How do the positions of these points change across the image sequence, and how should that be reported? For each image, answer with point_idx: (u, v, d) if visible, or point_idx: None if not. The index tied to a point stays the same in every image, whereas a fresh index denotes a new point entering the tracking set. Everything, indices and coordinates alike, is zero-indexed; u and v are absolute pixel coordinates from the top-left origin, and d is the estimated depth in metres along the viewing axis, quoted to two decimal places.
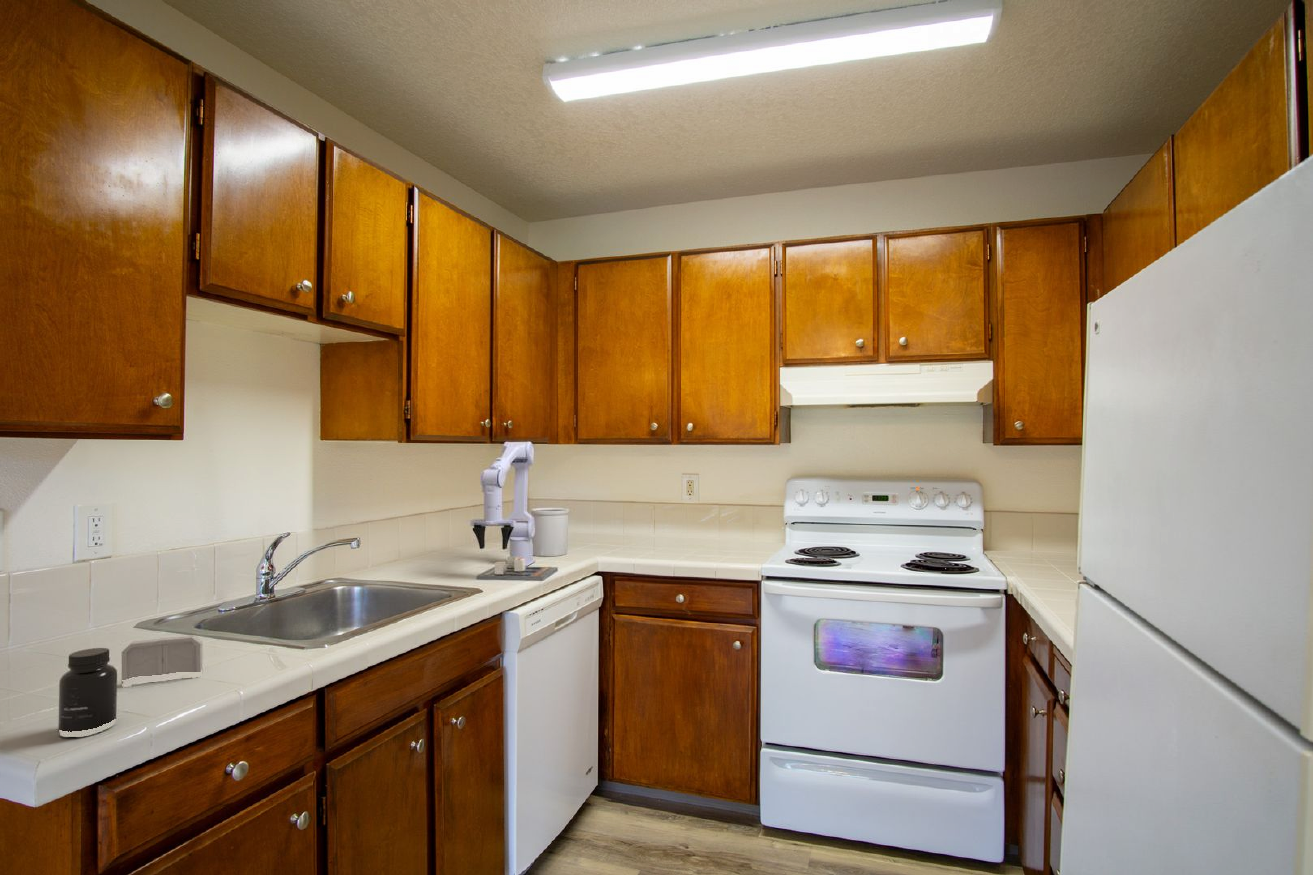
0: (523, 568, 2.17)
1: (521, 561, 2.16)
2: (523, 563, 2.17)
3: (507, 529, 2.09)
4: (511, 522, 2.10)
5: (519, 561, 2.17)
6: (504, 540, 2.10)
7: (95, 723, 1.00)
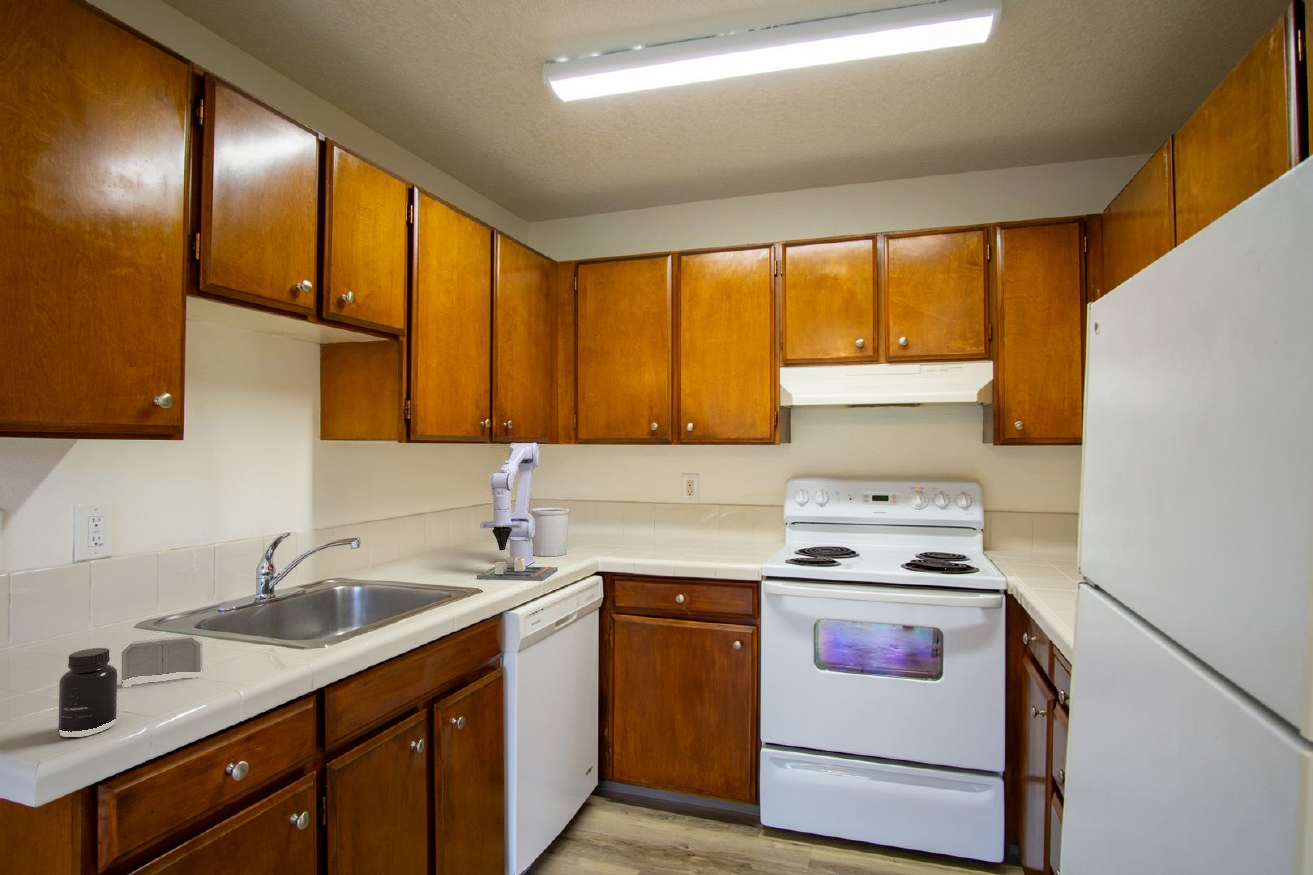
0: (523, 568, 2.17)
1: (521, 561, 2.16)
2: (523, 563, 2.17)
3: (505, 531, 2.16)
4: (520, 524, 2.17)
5: (519, 561, 2.17)
6: (503, 541, 2.17)
7: (95, 723, 1.00)
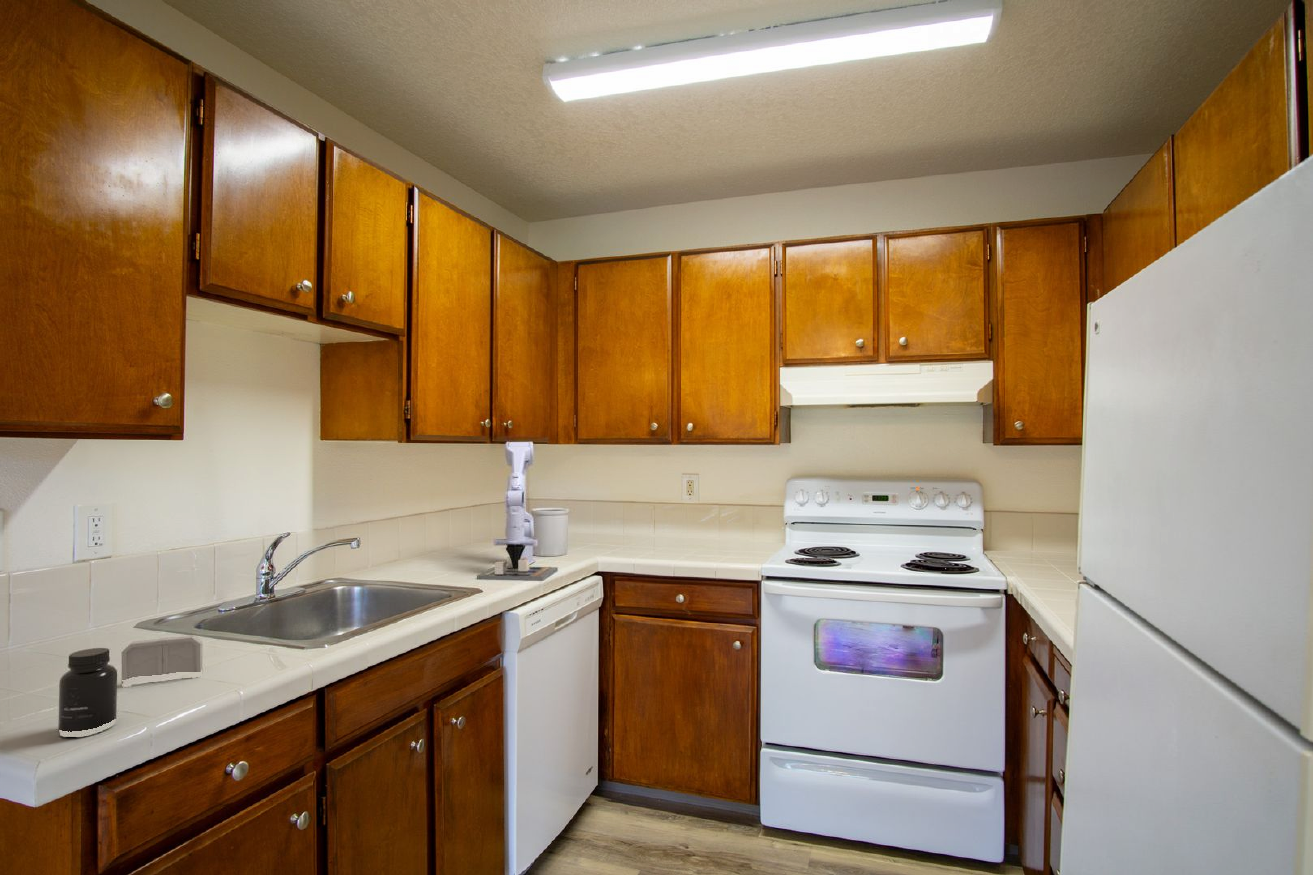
0: (527, 568, 2.17)
1: (525, 561, 2.16)
2: (527, 563, 2.17)
3: (519, 548, 2.15)
4: (533, 542, 2.16)
5: (523, 561, 2.16)
6: (516, 559, 2.17)
7: (95, 723, 1.00)
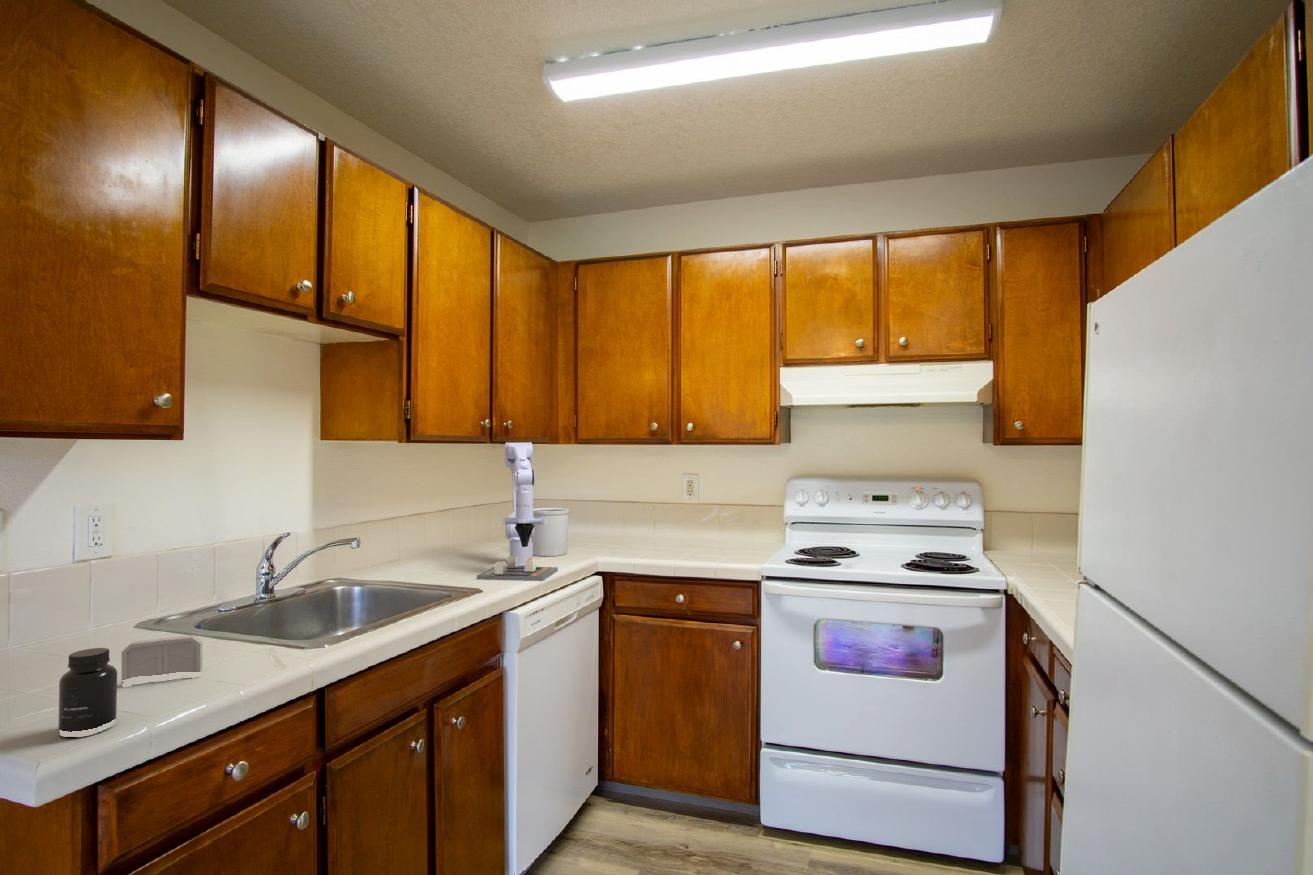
0: (533, 568, 2.17)
1: (532, 561, 2.16)
2: (533, 563, 2.17)
3: (528, 527, 2.15)
4: (542, 520, 2.16)
5: (529, 561, 2.16)
6: (525, 538, 2.16)
7: (95, 723, 1.00)
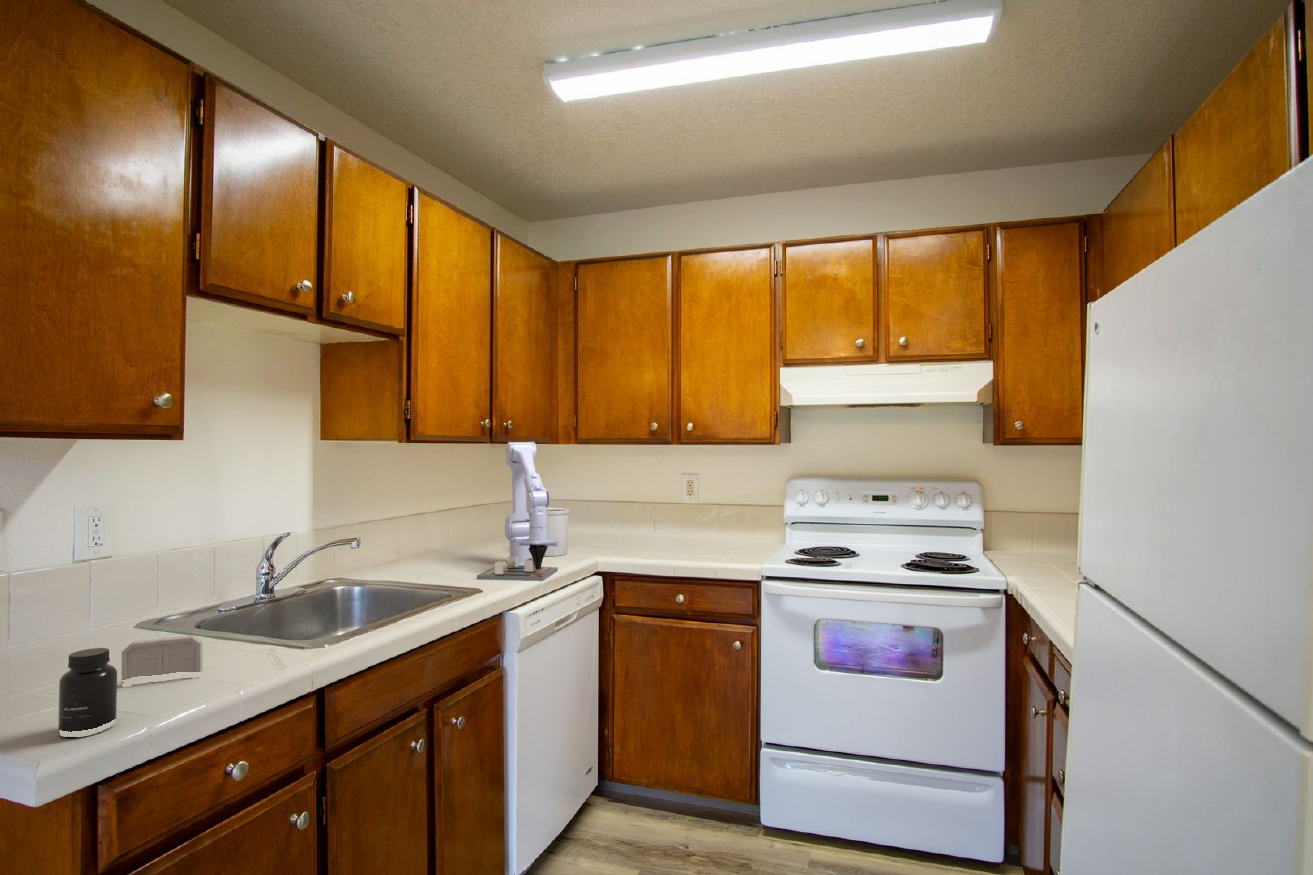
0: (533, 568, 2.17)
1: (532, 561, 2.16)
2: (533, 563, 2.17)
3: (542, 549, 2.14)
4: (556, 542, 2.15)
5: (529, 561, 2.16)
6: (539, 560, 2.16)
7: (95, 723, 1.00)
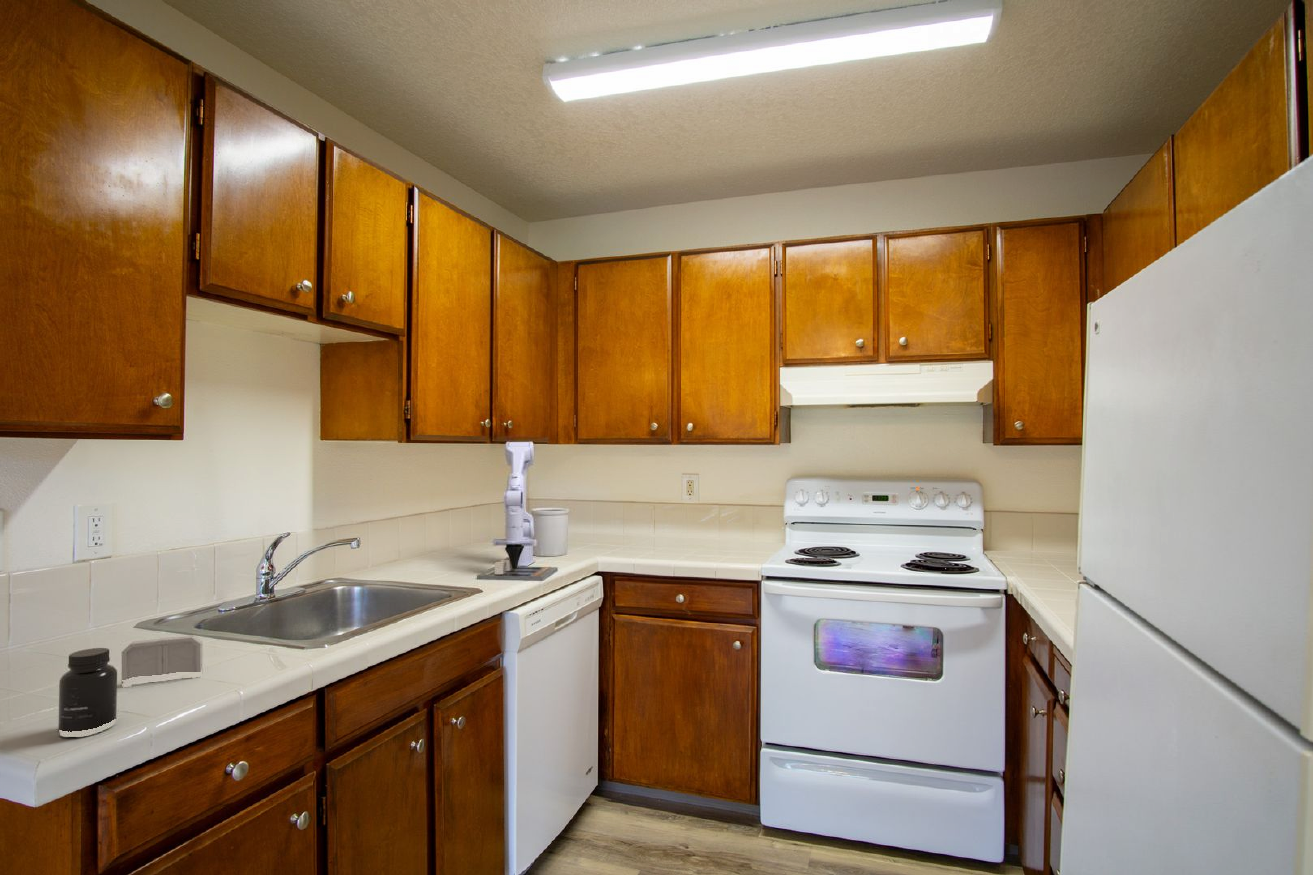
0: (510, 568, 2.18)
1: (508, 561, 2.17)
2: (510, 563, 2.18)
3: (518, 548, 2.16)
4: (532, 542, 2.16)
5: (506, 560, 2.17)
6: (515, 559, 2.17)
7: (95, 723, 1.00)
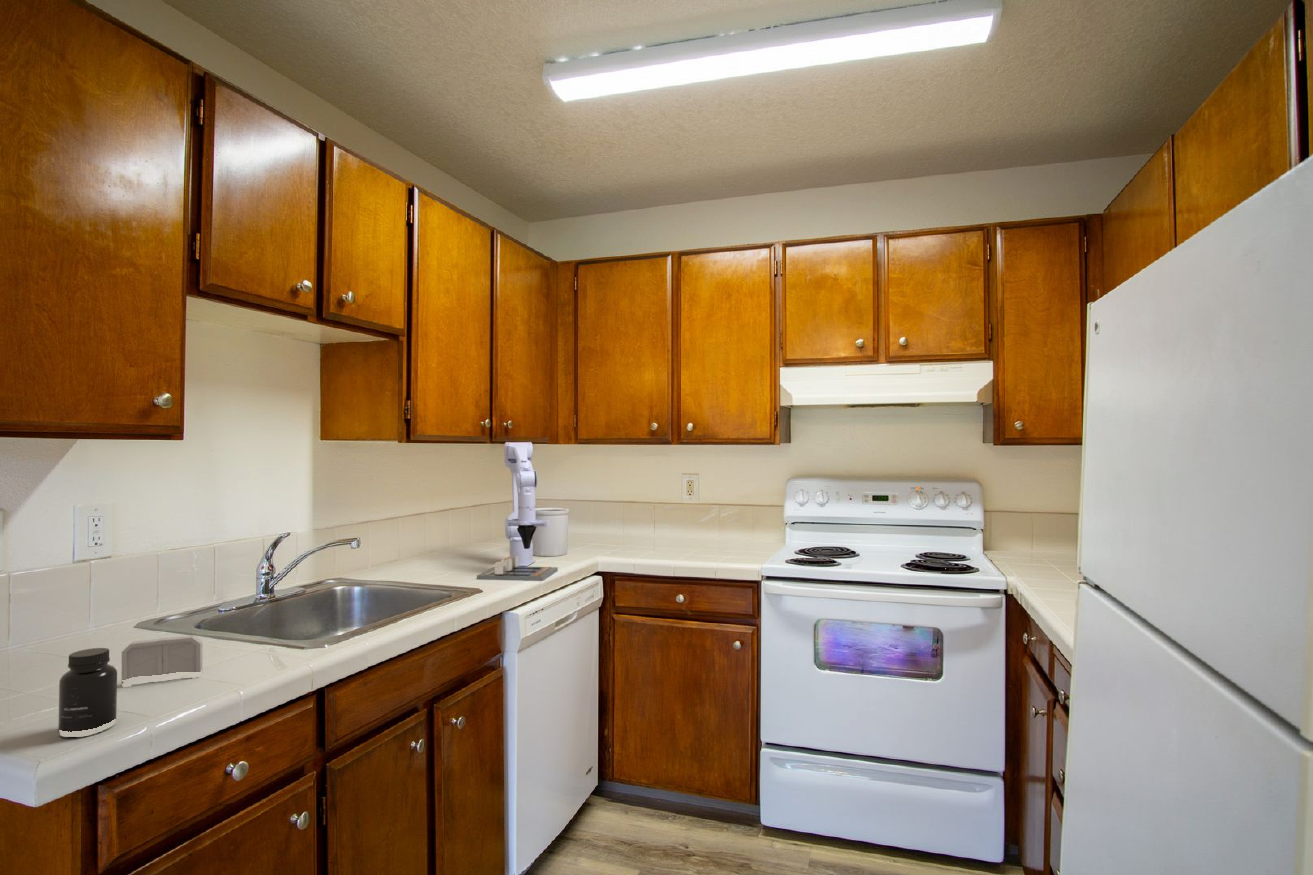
0: (510, 568, 2.18)
1: (508, 561, 2.17)
2: (510, 563, 2.18)
3: (530, 529, 2.15)
4: (544, 522, 2.16)
5: (506, 560, 2.17)
6: (527, 540, 2.16)
7: (95, 723, 1.00)
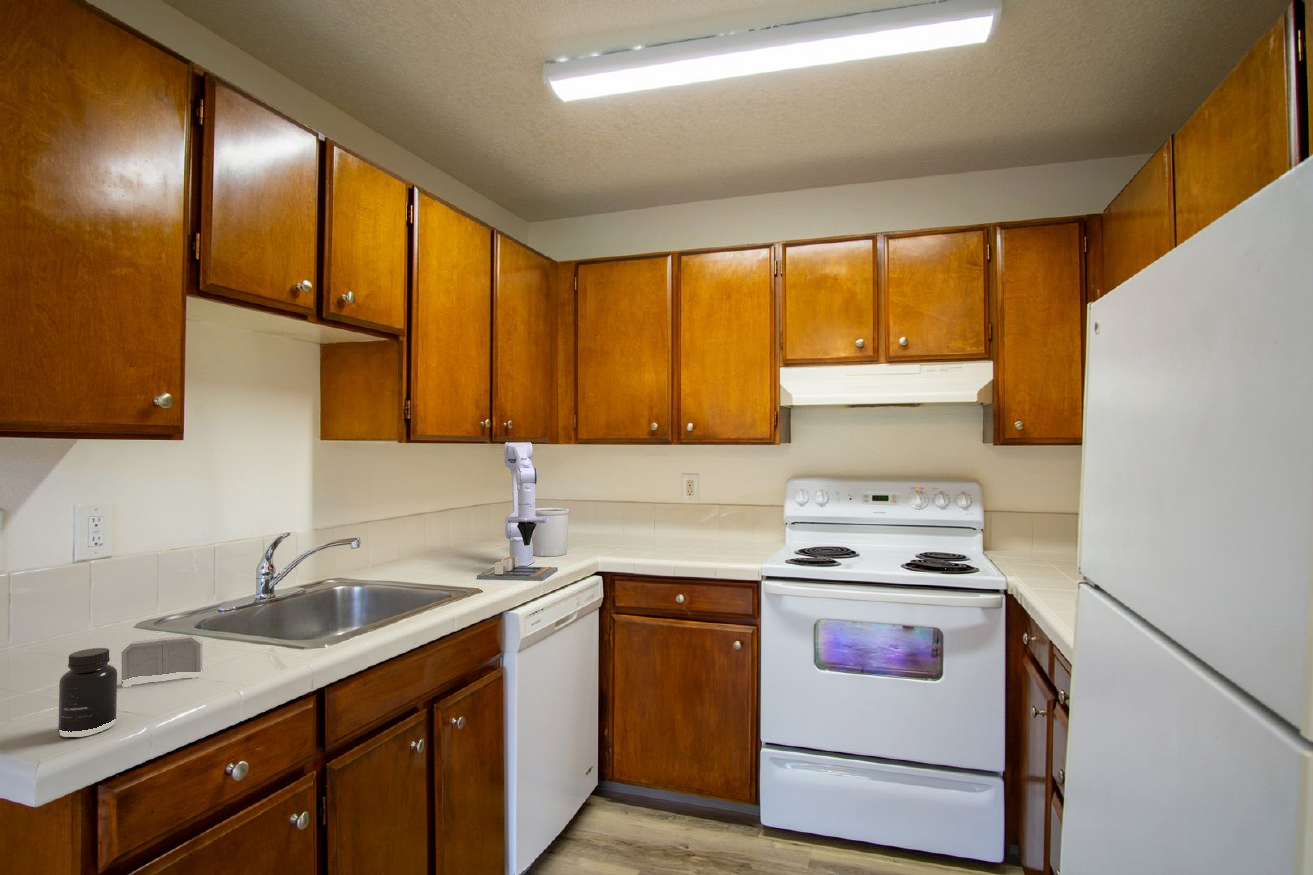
0: (510, 568, 2.18)
1: (508, 561, 2.17)
2: (510, 563, 2.18)
3: (530, 526, 2.15)
4: (544, 519, 2.16)
5: (506, 560, 2.17)
6: (527, 536, 2.16)
7: (95, 723, 1.00)
